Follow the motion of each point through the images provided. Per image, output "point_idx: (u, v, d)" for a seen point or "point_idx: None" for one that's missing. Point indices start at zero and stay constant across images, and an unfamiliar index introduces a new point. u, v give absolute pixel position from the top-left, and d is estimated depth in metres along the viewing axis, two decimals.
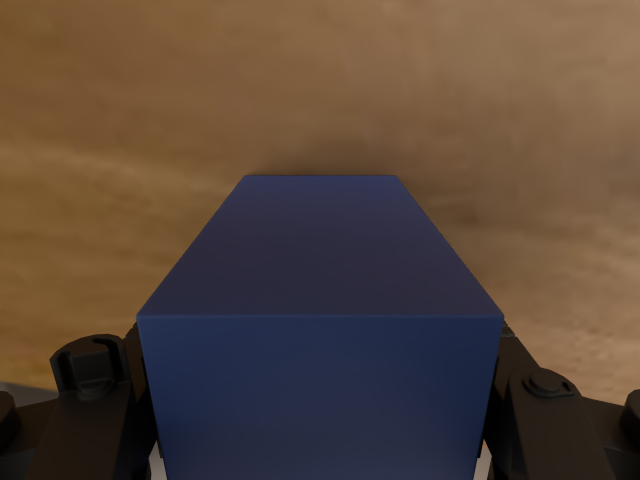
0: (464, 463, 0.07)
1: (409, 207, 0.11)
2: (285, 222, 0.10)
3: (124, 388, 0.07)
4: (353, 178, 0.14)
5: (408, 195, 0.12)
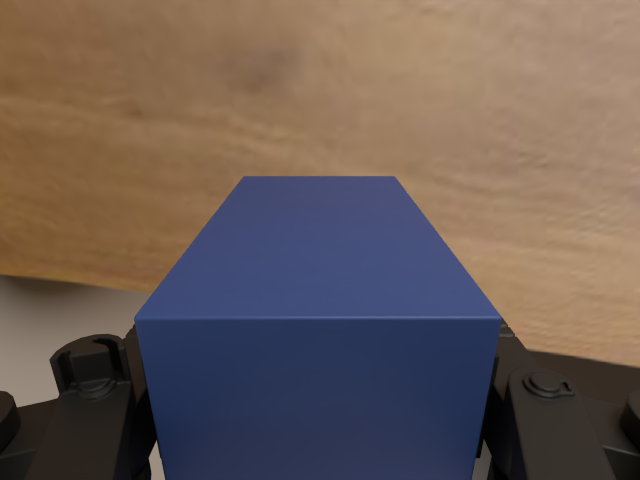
0: (462, 465, 0.07)
1: (408, 208, 0.11)
2: (283, 223, 0.10)
3: (124, 388, 0.07)
4: (352, 179, 0.15)
5: (407, 196, 0.12)
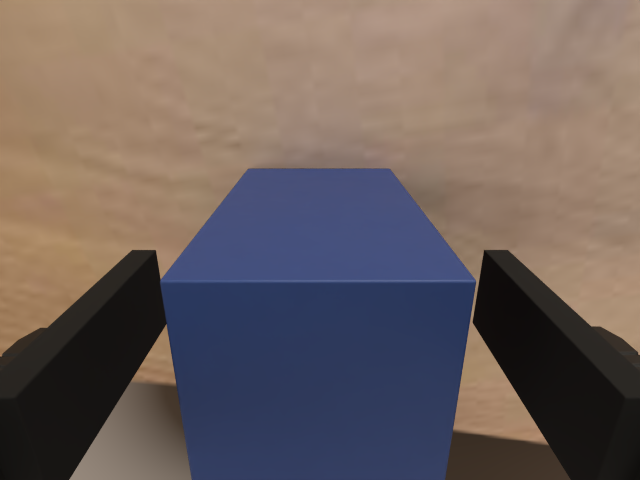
0: (444, 414, 0.08)
1: (401, 195, 0.12)
2: (286, 208, 0.11)
3: None
4: (350, 171, 0.16)
5: (400, 185, 0.13)
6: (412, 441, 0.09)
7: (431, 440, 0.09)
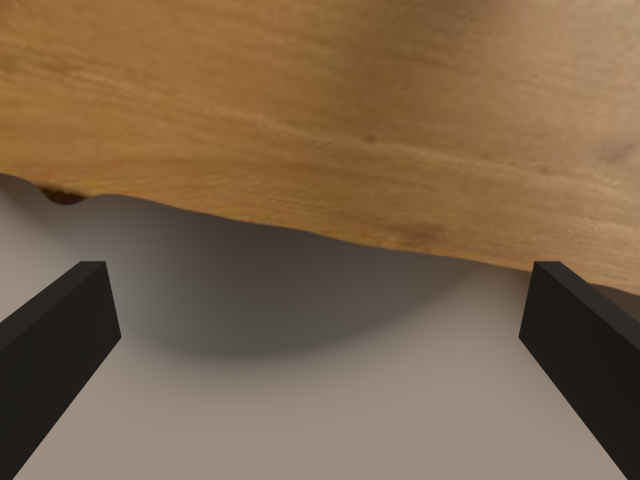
0: None
1: None
2: None
3: None
4: None
5: None
6: None
7: None
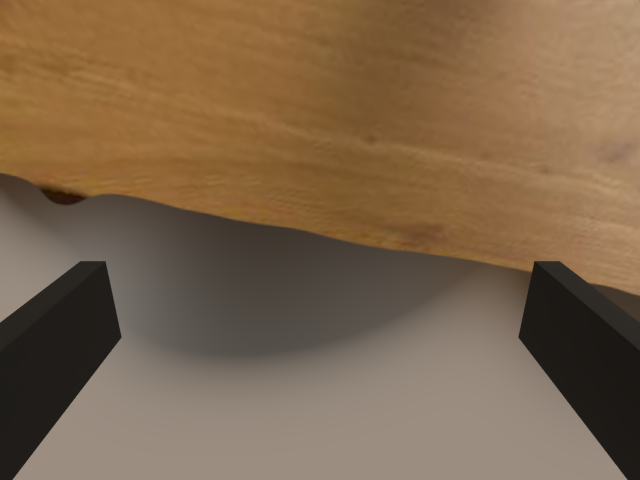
0: None
1: None
2: None
3: None
4: None
5: None
6: None
7: None
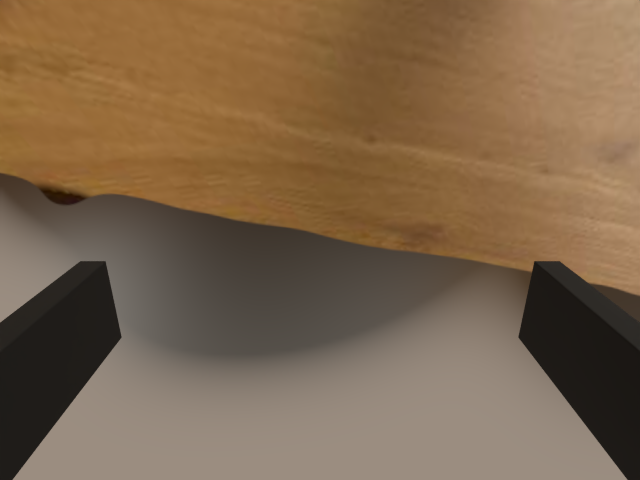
0: None
1: None
2: None
3: None
4: None
5: None
6: None
7: None
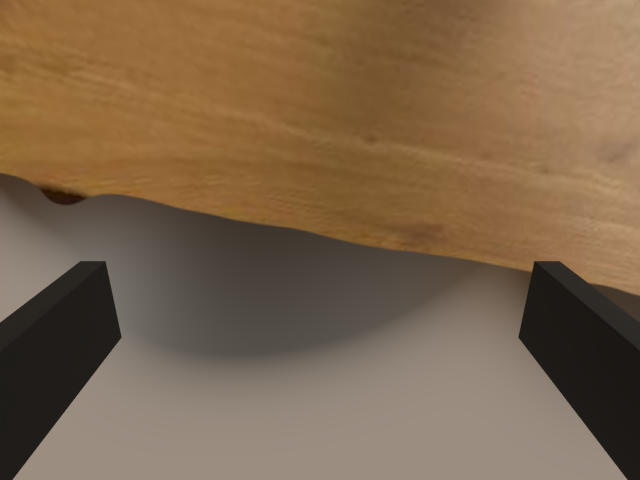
0: None
1: None
2: None
3: None
4: None
5: None
6: None
7: None
